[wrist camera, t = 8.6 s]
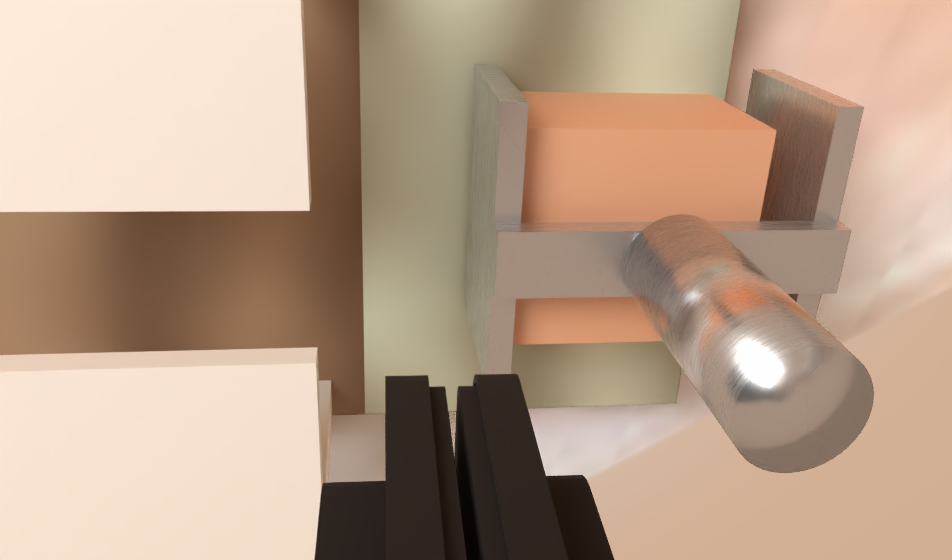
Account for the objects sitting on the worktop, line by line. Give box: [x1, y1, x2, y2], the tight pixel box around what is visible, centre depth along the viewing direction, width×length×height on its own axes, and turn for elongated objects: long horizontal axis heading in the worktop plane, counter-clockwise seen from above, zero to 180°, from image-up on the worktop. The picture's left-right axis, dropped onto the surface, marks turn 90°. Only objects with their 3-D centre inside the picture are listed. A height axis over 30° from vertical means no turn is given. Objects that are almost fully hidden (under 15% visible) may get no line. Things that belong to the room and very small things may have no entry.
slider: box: [465, 64, 874, 473], centre depth 19 cm, size 8×7×11 cm
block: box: [513, 91, 777, 345], centre depth 22 cm, size 6×6×4 cm
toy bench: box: [0, 0, 332, 560], centre depth 20 cm, size 8×14×6 cm, turn 179°
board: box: [0, 0, 741, 415], centre depth 23 cm, size 30×14×2 cm, turn 89°
